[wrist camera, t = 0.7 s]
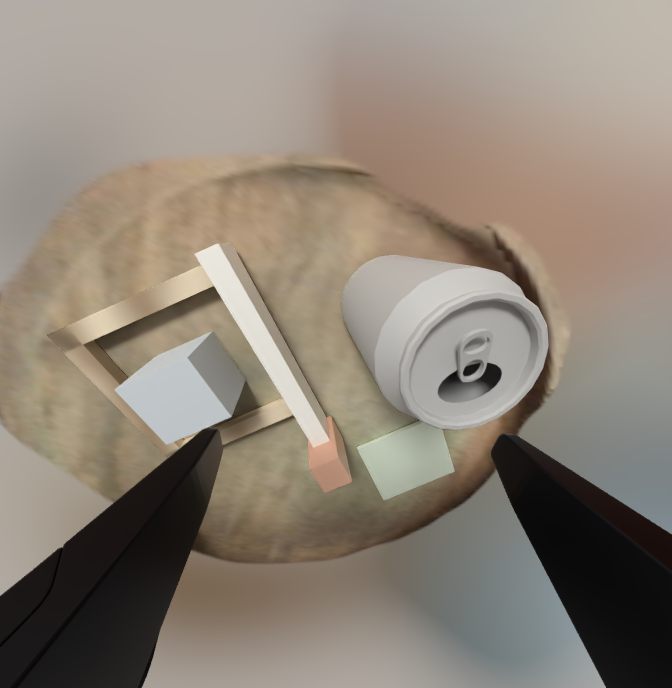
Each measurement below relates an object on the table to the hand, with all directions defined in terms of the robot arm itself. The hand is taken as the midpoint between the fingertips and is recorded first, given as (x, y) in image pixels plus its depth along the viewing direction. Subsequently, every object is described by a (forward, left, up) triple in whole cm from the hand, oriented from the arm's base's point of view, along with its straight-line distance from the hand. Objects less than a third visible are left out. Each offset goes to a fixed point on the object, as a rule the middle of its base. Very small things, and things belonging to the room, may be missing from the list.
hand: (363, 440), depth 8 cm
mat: (+2, -19, -14) cm, 23 cm away
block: (-11, 0, -14) cm, 18 cm away
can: (+5, -1, -14) cm, 15 cm away
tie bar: (-4, -2, -14) cm, 15 cm away
